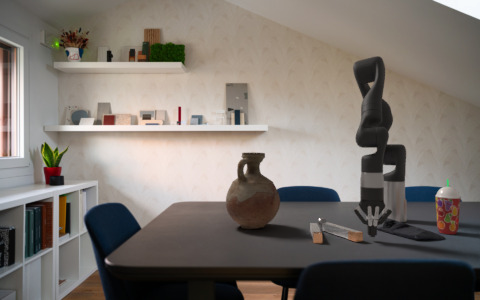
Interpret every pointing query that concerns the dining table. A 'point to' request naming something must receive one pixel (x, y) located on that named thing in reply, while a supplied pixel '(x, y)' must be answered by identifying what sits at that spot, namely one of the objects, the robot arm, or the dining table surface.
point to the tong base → (317, 230)
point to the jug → (252, 194)
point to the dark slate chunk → (408, 231)
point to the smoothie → (447, 209)
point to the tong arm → (342, 231)
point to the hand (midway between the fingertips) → (371, 236)
